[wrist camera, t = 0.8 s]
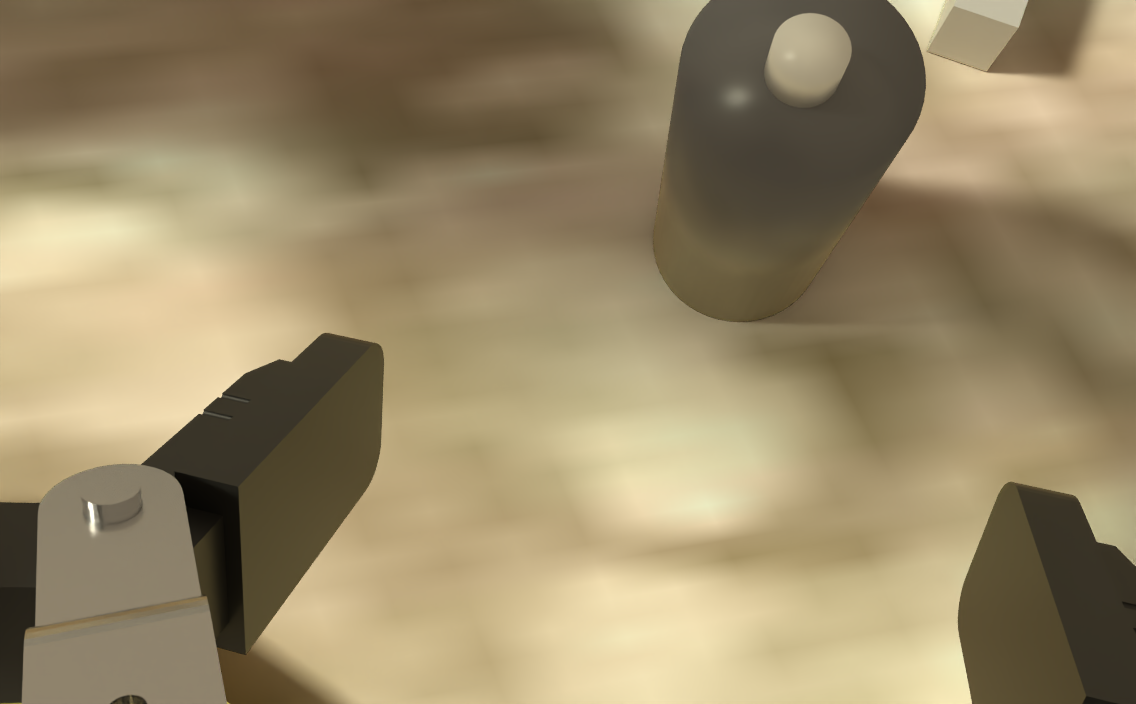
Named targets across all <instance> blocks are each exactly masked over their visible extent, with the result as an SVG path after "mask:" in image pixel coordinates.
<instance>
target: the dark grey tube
mask: <svg viewBox="0 0 1136 704" xmlns="http://www.w3.org/2000/svg"><path fill="white" fill-rule="evenodd" d="M925 89H926V74H925V67H924V61H923V57H922V53H921V50H920V47H919V44H918V42H917V40H916V38H915V36H914V34H913V32H912V30H911V28H910V27H909V25H908V24H907V22H906V21H905V19H904V18H903V17H902V16H901V14H900V13H899V12H898V11H897V10H896V9H895V7H894V6H892V5H891V4H890V3H889V2H888V1H887V0H711V1H710V2H709V3H708V4H707V5H706V6H705V7H704V8H703V9H702V10H701V12H700V13H699V15H698V16H697V17H696V19H695V20H694V22H693V24H692V25H691V27H690V29H689V31H688V33H687V36H686V39H685V41H684V44H683V47H682V52H681V57H680V63H679V69H678V76H677V82H676V89H675V95H674V102H673V108H672V115H671V121H670V128H669V135H668V141H667V148H666V154H665V161H664V167H663V174H662V180H661V187H660V193H659V200H658V206H657V213H656V219H655V226H654V233H653V247H654V255H655V259H656V263H657V266H658V268H659V271H660V273H661V275H662V277H663V279H664V281H665V282H666V284H667V285H668V286H669V288H670V289H671V290H672V291H673V293H674V294H675V295H676V296H677V297H678V298H679V299H680V300H682V301H683V302H684V303H685V304H687V305H688V306H690V307H691V308H693V309H694V310H696V311H698V312H700V313H702V314H704V315H706V316H709V317H713V318H716V319H720V320H725V321H734V322H745V321H754V320H759V319H763V318H766V317H769V316H772V315H774V314H777V313H779V312H781V311H783V310H784V309H786V308H787V307H789V306H790V305H792V304H793V303H794V302H795V301H796V300H797V299H798V298H799V297H800V296H801V295H802V294H803V293H804V292H805V291H806V289H807V288H808V286H809V285H810V283H811V282H812V280H813V279H814V277H815V276H816V274H817V273H818V271H819V270H820V268H821V267H822V265H823V264H824V262H825V261H826V259H827V258H828V256H829V255H830V253H831V252H832V250H833V249H834V248H835V246H836V245H837V243H838V242H839V240H840V239H841V237H842V236H843V234H844V233H845V231H846V230H847V228H848V227H849V225H850V224H851V222H852V221H853V219H854V218H855V216H856V215H857V213H858V212H859V210H860V209H861V207H862V206H863V204H864V203H865V201H866V200H867V198H868V197H869V195H870V194H871V192H872V191H873V189H874V188H875V186H876V185H877V183H878V182H879V180H880V179H881V177H882V176H883V174H884V173H885V171H886V170H887V169H888V167H889V166H890V164H891V163H892V161H893V160H894V158H895V157H896V155H897V154H898V152H899V151H900V149H901V148H902V146H903V145H904V143H905V142H906V140H907V139H908V137H909V136H910V134H911V132H912V131H913V129H914V127H915V125H916V123H917V121H918V119H919V116H920V113H921V110H922V106H923V103H924V97H925Z"/></svg>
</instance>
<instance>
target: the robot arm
mask: <svg viewBox="0 0 1136 704" xmlns="http://www.w3.org/2000/svg"><path fill="white" fill-rule="evenodd" d="M383 374H384V356H383V350H382V348H381V346H380V345H379V344H377V343H372V342H367V341H363V340H358V339H354V338H349V337H344V336H340V335H335V334H330V333H324V334H322V335H320V336H319V337H318V338H317V339H316V340H315V341H314V342H313V343H312V344H310V345H309V346H308V347H307V348H306V349H305V350H304V351H303V352H302V353H301V354H300V355H299V356H298V357H297V358H295V359H294V360H293V361H292V362H289V361H284V360H280V359H279V360H277V361H274V362H272V363H269V364H267V365H265V366H262V367H260V368H257V369H255V370H253V371H250V372H248V373H245V374H244V375H243V376H242V377H241V378H239V379H238V380H237V381H236V382H235V383H234V384H233V385H231V386H230V387H229V388H228V389H227V390H226V391H225V392H223V393H222V397H221V398H219V397H218V398H217V399H215V400H214V401H213V402H212V403H211V404H210V405H209V406H207V407H206V408H205V409H204V412H203V414H198V415H197V416H196V417H195V418H194V419H193V420H191V421H190V422H189V423H188V424H187V425H186V426H185V427H183V428H182V429H181V430H180V431H179V432H178V433H177V434H175V435H174V436H173V437H172V438H171V439H170V440H169V441H167V442H166V443H165V444H164V445H163V446H162V447H161V448H159V449H158V450H157V451H156V452H155V453H154V454H153V455H151V456H150V457H149V458H148V459H147V460H146V461H145V462H143V463H142V464H141V465H137V464H117V465H107V466H102V467H97V468H93V469H89V470H86V471H83V472H80V473H77V474H75V475H73V476H71V477H69V478H67V479H65V480H63V481H61V482H60V483H58V484H57V485H55V486H54V487H53V488H52V489H51V490H50V491H48V493H47V494H46V495H45V496H44V497H43V499H42V501H41V503H5V502H0V703H22V704H227V701H226V696H225V690H224V685H223V679H222V674H221V669H220V663H219V658H218V652H217V647H218V648H222V649H226V650H229V651H233V652H237V653H240V654H244V655H246V654H247V653H248V651H249V650H250V648H251V647H252V646H253V644H254V643H255V642H256V640H257V639H258V637H259V636H260V635H261V633H262V632H263V631H264V629H265V628H266V626H267V625H268V624H269V622H270V621H271V620H272V618H273V617H274V616H275V614H276V613H277V611H278V610H279V609H280V607H281V606H282V605H283V603H284V602H285V600H286V599H287V598H288V596H289V595H290V594H291V592H292V591H293V589H294V588H295V587H296V585H297V584H298V583H299V581H300V580H301V578H302V577H303V576H304V574H305V573H306V572H307V570H308V569H309V567H310V566H311V565H312V563H313V562H314V561H315V559H316V558H317V557H318V555H319V554H320V552H321V551H322V550H323V548H324V547H325V546H326V544H327V543H328V541H329V540H330V539H331V537H332V536H333V535H334V533H335V532H336V530H337V529H338V528H339V526H340V525H341V524H342V522H343V521H344V519H345V518H346V517H347V515H348V514H349V513H350V511H351V510H352V509H353V507H354V506H355V504H356V503H357V502H358V500H359V499H360V498H361V496H362V495H363V493H364V492H365V491H366V489H367V488H368V486H369V484H370V482H371V480H372V478H373V475H374V473H375V470H376V467H377V463H378V459H379V454H380V448H381V429H382V401H383ZM958 630H959V637H960V642H961V647H962V652H963V657H964V663H965V668H966V673H967V678H968V683H969V688H970V694H971V699H972V704H1136V567H1135V566H1134V565H1133V564H1132V563H1131V562H1130V561H1129V560H1128V559H1127V558H1126V557H1125V556H1124V555H1123V554H1122V553H1121V551H1120V550H1119V549H1118V548H1117V547H1116V546H1112V545H1107V544H1103V543H1098V542H1096V540H1095V537H1094V535H1093V533H1092V530H1091V528H1090V526H1089V523H1088V521H1087V519H1086V516H1085V514H1084V512H1083V509H1082V507H1081V505H1080V502H1079V500H1078V499H1077V498H1076V497H1075V496H1073V495H1069V494H1065V493H1060V492H1055V491H1051V490H1046V489H1042V488H1037V487H1032V486H1028V485H1023V484H1018V483H1014V482H1008V483H1007V484H1005V485H1004V487H1003V488H1002V489H1001V491H1000V493H999V495H998V497H997V499H996V502H995V504H994V507H993V509H992V512H991V514H990V517H989V519H988V522H987V525H986V527H985V530H984V532H983V535H982V537H981V540H980V542H979V545H978V548H977V550H976V553H975V555H974V558H973V560H972V563H971V565H970V568H969V571H968V573H967V576H966V578H965V581H964V584H963V588H962V592H961V596H960V602H959V610H958Z"/></svg>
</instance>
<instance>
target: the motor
mask: <svg viewBox="0 0 1136 704" xmlns="http://www.w3.org/2000/svg"><path fill="white" fill-rule="evenodd" d="M1027 3H1028V0H946V1H945V3H944V6H943V9H942V11H941V14H940V17H939V19H938V22H937V25H936V27H935V30H934V33H933V35H932V38H931V41H930V44H929V46H928V49H927V51H928V52H931V53H933V54H936V55H939V56H942V57H945V58H948V59H951V60H954V61H957V62H960V63H962V64H965V65H968V66H971V67H974V68H977V69H980V70H983V71H986V72H987V70H988V69H989V68H990V66H991V65H992V63H993V62H994V61H995V59H996V58H997V57H998V55H999V54H1000V53H1001V51H1002V50H1003V48H1004V47H1005V46H1006V44H1007V43H1008V42H1009V40H1010V39H1011V38H1012V36H1013V35H1014V33H1015V32H1016V31H1017V29H1018V28H1019V25H1020V23H1021V20H1022V17H1023V14H1024V11H1025V8H1026V5H1027Z"/></svg>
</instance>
